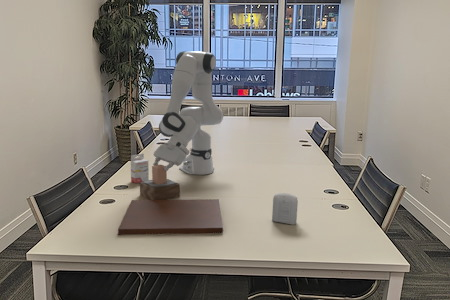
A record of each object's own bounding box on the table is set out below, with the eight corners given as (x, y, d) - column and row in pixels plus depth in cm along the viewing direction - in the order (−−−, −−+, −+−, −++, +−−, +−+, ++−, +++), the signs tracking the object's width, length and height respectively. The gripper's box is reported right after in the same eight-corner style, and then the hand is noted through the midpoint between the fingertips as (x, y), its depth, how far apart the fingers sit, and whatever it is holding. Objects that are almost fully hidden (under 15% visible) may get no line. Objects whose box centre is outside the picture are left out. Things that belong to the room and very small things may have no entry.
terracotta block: (152, 181, 200) (152, 166, 198) (161, 180, 203) (160, 164, 202) (157, 184, 196) (157, 168, 195) (166, 182, 200) (166, 166, 198)
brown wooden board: (222, 234, 159) (218, 205, 191) (222, 227, 158) (218, 199, 190) (118, 236, 157) (131, 206, 189) (117, 229, 156) (131, 200, 188)
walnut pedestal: (140, 195, 202) (139, 181, 200) (164, 189, 211) (163, 176, 209) (155, 202, 192) (154, 188, 190) (179, 196, 201) (179, 182, 199)
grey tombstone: (297, 221, 171) (299, 193, 168) (295, 225, 167) (296, 196, 164) (273, 218, 175) (274, 190, 172) (270, 221, 171) (271, 193, 168)
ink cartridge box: (135, 183, 220) (134, 157, 217) (130, 181, 224) (129, 155, 221) (149, 180, 226) (148, 154, 223) (144, 178, 230) (143, 153, 227)
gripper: (160, 138, 208) (144, 160, 204) (184, 145, 193) (167, 168, 189) (168, 145, 212) (152, 167, 208) (191, 153, 197) (175, 176, 193)
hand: (159, 168), depth 199 cm, fingers open, 8 cm apart
